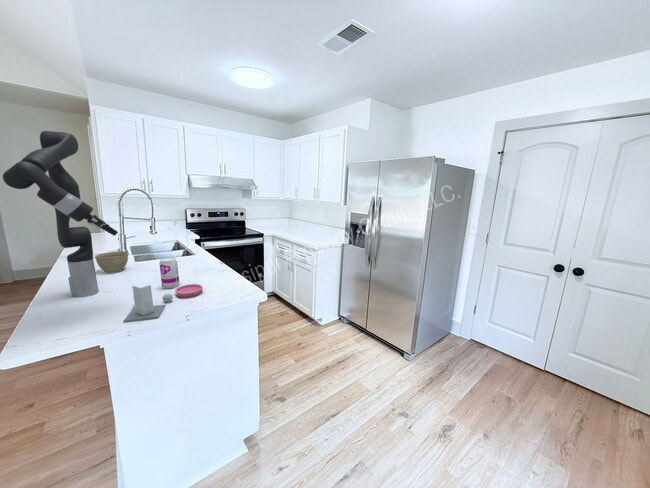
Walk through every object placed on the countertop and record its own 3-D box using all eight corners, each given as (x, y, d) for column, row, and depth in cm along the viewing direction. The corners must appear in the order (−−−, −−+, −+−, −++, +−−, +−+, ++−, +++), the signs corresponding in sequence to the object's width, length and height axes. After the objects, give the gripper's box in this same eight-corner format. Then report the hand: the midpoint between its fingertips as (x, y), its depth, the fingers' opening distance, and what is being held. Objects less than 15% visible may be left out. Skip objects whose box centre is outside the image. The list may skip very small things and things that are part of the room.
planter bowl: (124, 265, 177) (122, 250, 174) (134, 270, 167) (131, 254, 165) (94, 271, 164) (91, 254, 162) (102, 276, 155) (99, 259, 152)
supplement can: (171, 289, 138) (168, 262, 134) (158, 288, 139) (155, 260, 136) (182, 284, 145) (180, 258, 142) (170, 283, 147) (167, 257, 144)
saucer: (200, 297, 129) (200, 291, 128) (172, 300, 125) (172, 293, 125) (204, 288, 140) (204, 282, 140) (178, 290, 137) (178, 284, 136)
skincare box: (154, 311, 111) (151, 284, 109) (143, 315, 107) (140, 288, 105) (145, 308, 114) (142, 282, 111) (135, 312, 110) (131, 285, 107)
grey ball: (162, 303, 120) (161, 295, 120) (164, 300, 124) (163, 292, 123) (171, 302, 122) (171, 294, 121) (173, 299, 125) (172, 291, 125)
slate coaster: (123, 322, 103) (123, 320, 103) (134, 309, 114) (133, 307, 114) (158, 318, 107) (158, 316, 107) (165, 306, 118) (165, 304, 118)
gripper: (84, 201, 101) (124, 228, 111) (78, 199, 110) (116, 224, 120) (67, 215, 98) (111, 241, 108) (63, 213, 107) (103, 237, 118)
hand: (113, 232), depth 114 cm, fingers open, 8 cm apart
